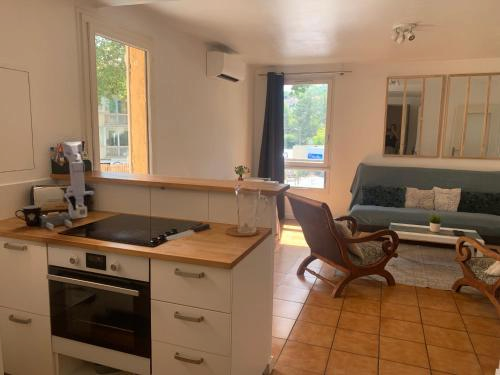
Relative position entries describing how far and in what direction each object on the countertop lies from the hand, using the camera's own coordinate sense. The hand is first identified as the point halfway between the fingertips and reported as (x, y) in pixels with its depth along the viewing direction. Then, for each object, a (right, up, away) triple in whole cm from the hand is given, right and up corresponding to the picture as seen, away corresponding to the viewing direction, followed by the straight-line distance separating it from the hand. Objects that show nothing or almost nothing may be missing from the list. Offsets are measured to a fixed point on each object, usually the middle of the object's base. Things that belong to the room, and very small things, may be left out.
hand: (80, 209), depth 203 cm
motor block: (-15, -8, +3) cm, 17 cm away
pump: (0, -3, 0) cm, 3 cm away
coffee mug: (-27, -9, +1) cm, 28 cm away
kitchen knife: (+61, -12, -14) cm, 63 cm away
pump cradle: (-10, -9, -3) cm, 14 cm away
